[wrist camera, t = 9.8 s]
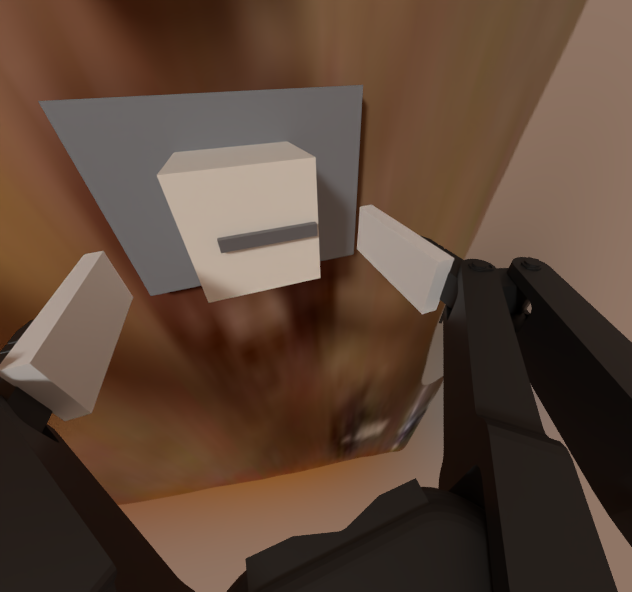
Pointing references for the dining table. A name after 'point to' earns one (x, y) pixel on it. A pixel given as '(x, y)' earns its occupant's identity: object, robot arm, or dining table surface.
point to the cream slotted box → (246, 215)
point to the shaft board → (198, 134)
